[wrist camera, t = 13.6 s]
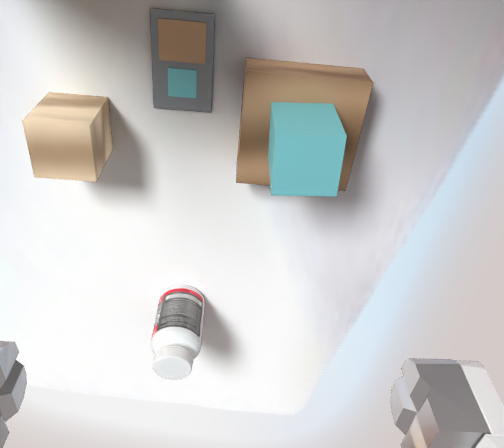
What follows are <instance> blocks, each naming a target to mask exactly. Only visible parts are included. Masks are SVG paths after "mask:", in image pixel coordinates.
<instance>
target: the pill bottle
mask: <svg viewBox="0 0 504 448" xmlns="http://www.w3.org/2000/svg"><path fill="white" fill-rule="evenodd" d="M204 308H205V300H204V297H203V295H202V294H201V292H199V291H198V290H197V289H195V288H193V287H191V286H187V285H175V286H171V287H169V288H167V289H166V290H165V291H164V292H163V293H162V294H161V297H160V301H159V305H158V310H157V315H156V320H155V325H154V330H153V334H152V339H151V349H152V351H153V353H154V354H155V356H154V362H153V369H154V372H155V373H156V374H157V375H159V376H160V377H162V378H165V379H171V380H177V379H182V378H185V377H186V376H188V375H189V374H190V372H191V370H192V364H193V359H194V358H196V357H197V355H198V354H199V352H200V349H201V341H202V330H203V319H204Z"/></svg>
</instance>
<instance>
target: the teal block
mask: <svg viewBox="0 0 504 448" xmlns="http://www.w3.org/2000/svg"><path fill="white" fill-rule="evenodd" d="M346 138H347V135H346V133H345V131H344V128H343V126H342V123H341V121H340V119H339V116H338V114H337V111H336V109H335V107H334V104H328V103H288V102H271V113H270V130H269V147H268V164H269V176H270V187H271V195H283V196H337V192H338V186H339V180H340V174H341V168H342V162H343V156H344V150H345V144H346Z"/></svg>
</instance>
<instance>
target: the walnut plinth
mask: <svg viewBox="0 0 504 448" xmlns="http://www.w3.org/2000/svg"><path fill="white" fill-rule="evenodd" d="M372 86H373V82H372V80H371V79H370V77H369V76H368V75H367V73H366V72H365V70H364V69H363V68H352V67H341V66H330V65H320V64H309V63H298V62H288V61H277V60H266V59H255V58H246V62H245V73H244V85H243V97H242V108H241V120H240V131H239V143H238V155H237V174H236V183H246V184H260V185H270V176H269V164H268V147H269V130H270V113H271V102H288V103H328V104H334V107H335V109H336V111H337V114H338V116H339V119H340V121H341V123H342V126H343V128H344V131H345V133H346V135H347V138H346V144H345V150H344V156H343V162H342V168H341V174H340V180H339V186H338V190H341V191H346V187H347V183H348V179H349V175H350V172H351V168H352V164H353V160H354V156H355V152H356V148H357V144H358V140H359V136H360V132H361V129H362V125H363V121H364V117H365V113H366V109H367V105H368V101H369V97H370V93H371V89H372Z"/></svg>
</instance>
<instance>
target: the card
mask: <svg viewBox="0 0 504 448" xmlns="http://www.w3.org/2000/svg"><path fill="white" fill-rule="evenodd" d="M150 23H151V49H152V75H153V101H154V108H163V109H176V110H188V111H201V112H211V100H212V75H213V49H214V24H215V14H206V13H195V12H184V11H173V10H163V9H152V8H150Z"/></svg>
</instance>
